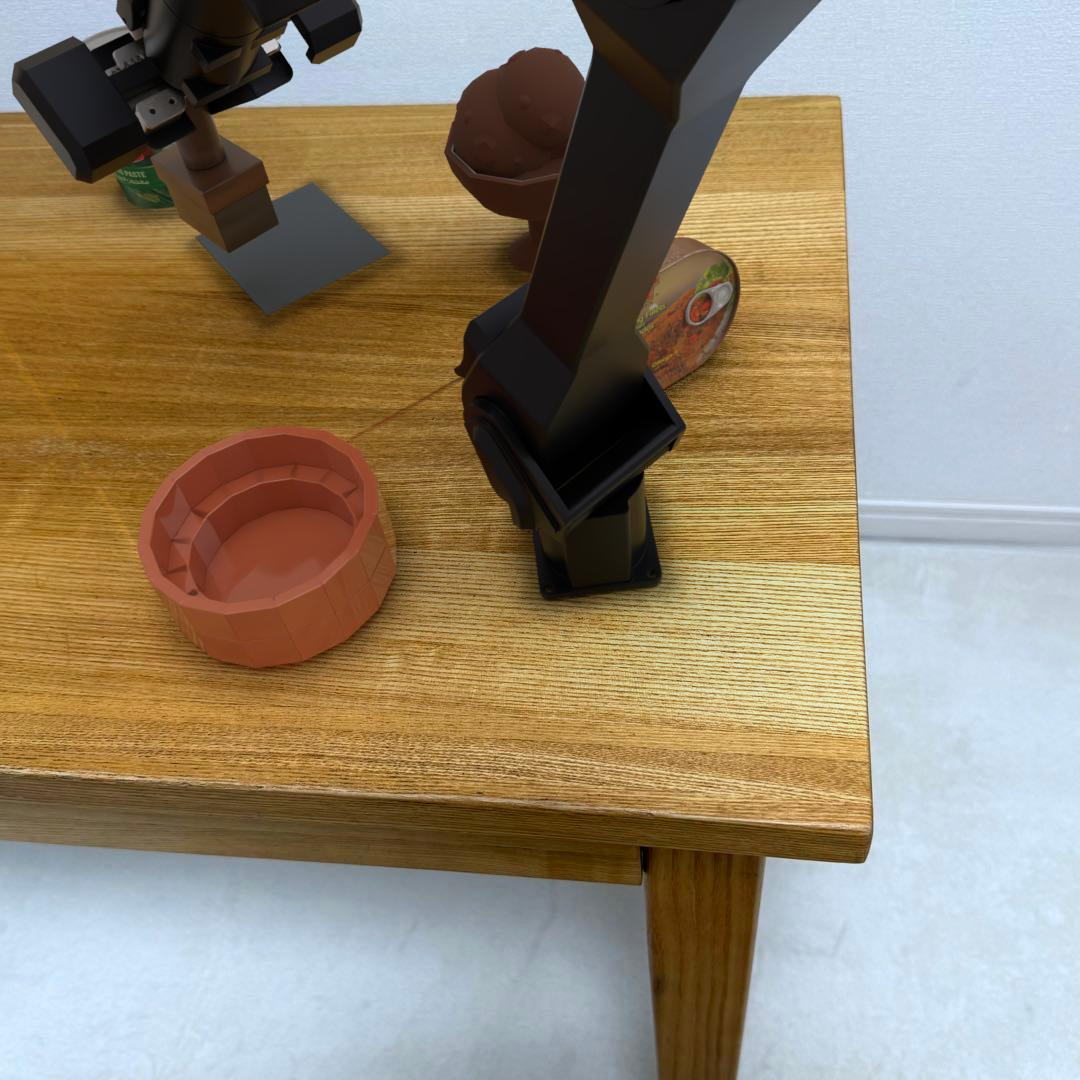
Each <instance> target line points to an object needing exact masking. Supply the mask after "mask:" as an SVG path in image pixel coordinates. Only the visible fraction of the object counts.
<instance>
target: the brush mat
mask: <svg viewBox="0 0 1080 1080" xmlns="http://www.w3.org/2000/svg"><path fill="white" fill-rule="evenodd" d="M271 201H272V204H273V206H274V209H275V212H276V215H277V218H278V221H279V225H277V226H275V227H273V228H272V229H270V230H268V231H267V232H265V233H263V234H262V235H260V236H258V237H256V238H255V239H253V240H251V241H250V242H248V243H246V244H244V245H243V246H241V247H239V248H238V249H236V250H234V251H232V252H231V253H227V252H226V251H225V250H223V249H222V248H220V247H219V246H218V245H216V244H215V243H213V242H212V241H211V240H209V239H208V238H207V237H205V236H204V235H202V234H201V233H200V234H199V235H197V236H195V239H196V240H197V241H198V242H199V244H201V246H203V247H204V249H205V250H206V251H207V252H208V253H209V254H210V255H211V257H213V259H214V260H215V261H216V262H217V263H218V264H219V265H220V266H221V267H222V268H223V270H224V271H225V272H226V273H227V274H228V275H229V276H230V277H231V278H232V279H233V280H234V282H235V283H236V284H237V285H238V286H239V287H240V288H241V289H242V291H244V293H246V295H247V296H248V297H249V298H250V299H251V300H252V301H253V303H254V304H255V305H256V306H257V307H258V308H259V309H260V310H261V311H262V312H263V313H264V314H265V315H266V316H269V315H271V314H274V313H275V312H277V311H279V310H282V309H283V308H285V307H287V306H289V305H291V304H293V303H295V302H297V301H299V300H301V299H303V298H305V297H308V296H309V295H311V294H313V293H315V292H317V291H320V290H321V289H323V288H326V287H327V286H329V285H331V284H333V283H335V282H337V281H339V280H340V279H343V278H344V277H347V276H349V275H350V274H352V273H354V272H356V271H358V270H361V269H362V268H365V267H366V266H368V265H370V264H373V263H374V262H376V261H378V260H380V259H383V258H384V257H386V256H389V255H390V254H392V252H391V251H390V250H389V249H388V248H387V247H386V246H385V245H383V244H382V243H381V242H380V241H379V240H378V239H377V238H375V237H374V236H373V234H371V233H370V232H369V231H368V230H366V229H365V228H364V227H363V226H362V225H361V224H360V223H358V221H356V220H355V219H354V218H353V217H352V216H351V215H350V214H349V213H348V212H346V211H345V210H344V209H343V208H342V207H341V206H339V205H338V203H336V202H335V201H334V200H333V199H332V198H330V196H328V194H326V193H325V192H324V190H322V189H321V188H319V186H317V185H316V184H315V183H314V182H309V183H308V184H305V185H303V186H301V187H299V188H296V189H295V190H292V191H291V192H288V193H286V194H284V195H282V196H279V197H278V198H275V199H273V200H271Z"/></svg>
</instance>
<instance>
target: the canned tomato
mask: <svg viewBox="0 0 1080 1080" xmlns="http://www.w3.org/2000/svg"><path fill="white" fill-rule="evenodd" d="M126 33H130V34H131V35H132V33H131V31H130V30H129V29H128V28H127V26H126V25H125V24H124V25H120V26H114V27H111V28H108V29H104V30H101V31H98V32H96V33H93V34H92V35H90V36H87V37H86V38H84V39H83V40H81V41H82V42H84V43H85V44H86V46H87V47H88V48H89V50H90V51H91V50H93V49H95V48H97V47H99V46H101V45H103V44H105V43H107V42H109V41H112V40H114V39H116V38H118V37H120V36H122V35H124V34H126ZM132 37H133V35H132ZM175 144H176V142H174V143H172V144H170V145H168V146H166V147H165V148H163V149H160V150H156V151H155V150H151V149H148V148H147V150H146V151H145V152H144V153H143V154H142V155H141V156H140V157H138V158H137V159H136V160H135V161H134V162H133V163H131V164H129V165H127V166H125V167H123V168H121V169H119V170H118V171H116V172H114V173H113V174H114V176H115V178H116V181H117V184H118V185H119V187H120V189H121V191H122V193H123V195H124V197H125V199H126V200H127V201H128V202H129V203H130V204H132V205H133V206H135V207H138V208H143V209H148V210H149V209H150V210H151V209H154V210H160V209H168V208H174V207H175V205H174V202H173V200H172V198H171V195H170V193H169V191H168V188H167V186H166V184H165V183H164V182H163V181H161V180H160V179H159V177H158V175H157V173H156V170H155V168H154V166H153V163H152V161H151V157H152V156H154V155H156V154H158V153H160V152H162V151H164V150H165V149H167V148H169V147H171V146H173V145H175Z"/></svg>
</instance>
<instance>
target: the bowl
mask: <svg viewBox="0 0 1080 1080" xmlns="http://www.w3.org/2000/svg"><path fill="white" fill-rule="evenodd" d="M395 533H396V532H395V530H394V527H393V524H392V520H391V518H390V515H389V511H388V508H387V506H386V502H385V498H384V496H383V492H382V489H381V487H380V484H379V480H378V478H377V476H376V474H375V473H374V471H373V470H372V468H371V466H370V465H369V463H368V461H367V460H366V457H364V455H363V453H362V451H361V450H359V448H357V447H355V446H354V445H352V444H350V443H349V442H347V441H345V440H344V439H343V438H340V437H338V436H337V435H335V434H334V433H332V432H330V431H328V430H324V429H318V428H317V429H316V428H311V427H304V426H299V425H291V424H283V425H276V426H269V427H263V428H255V429H249V430H243V431H240V432H237V433H236V434H234V435H231V436H229V437H227V438H223V439H222V440H219V441H217V442H214V443H212V444H210V445H208V446H206V447H202V448H201V449H200V450H198V451H197V452H196V453H194V454H193V455H192V456H191V457H190V458H188V459H187V460H185V462H183V463H182V464H180V465H179V466H178V467H177V468H176V469H174V470H173V471H172V472H170V474H168V475H167V476H166V477H164V479H163V480H162V482H161V484H159V487H158V488H157V489H156V491H155V492H154V494H153V496H152V498H151V499H150V500H149V502H148V503H147V505H146V506H145V508H144V509H143V511H142V516H141V521H140V528H139V532H138V537H137V538H138V539H137V544H136V551H137V555H138V557H139V559H140V562H141V565H142V567H143V569H144V572H145V575H146V577H147V580H148V583H149V584H150V585H151V588H152V589H153V590H154V591H155V593H156V595H157V597H158V598H159V599H160V601H161V602H162V604H163V605H164V607H165V609H166V610H167V612H168V613H169V615H170V616H171V618H172V619H173V621H174V623H175V624H176V626H177V627H178V629H179V630H180V632H181V633H182V635H183V636H184V637H185V638H186V639H188V640H189V641H190V642H192V643H193V644H194V645H195V646H197V647H198V648H199V649H200V650H202V651H203V652H204V653H205V654H207V656H209V657H211V658H213V659H214V660H217V661H222V662H227V663H232V664H235V665H236V664H237V665H241V666H245V667H250V668H254V669H255V668H256V669H258V668H265V667H271V666H272V667H273V666H278V665H280V666H281V665H285V664H293V663H300V662H304V661H306V660H309V659H311V658H313V657H314V656H317V655H319V654H321V653H323V652H324V651H327V650H329V649H331V648H333V647H335V646H338V645H340V644H341V643H344V642H345V641H347V640H348V639H350V637H352V636H353V634H354V633H355V632H357V631H358V630H359V629H360V628H361V627H362V626H363V625H364V624H365V623H366V622H367V621H368V620H369V619H370V618H371V617H372V616H373V615H374V614H375V613H376V612H377V611H378V610H379V609H380V608H381V606H382V604H383V601H384V599H385V597H386V595H387V593H388V590H389V589H390V586H391V584H392V582H393V580H394V578H395V576H396V573H397V568H398V567H397V536H396V534H395Z"/></svg>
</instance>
